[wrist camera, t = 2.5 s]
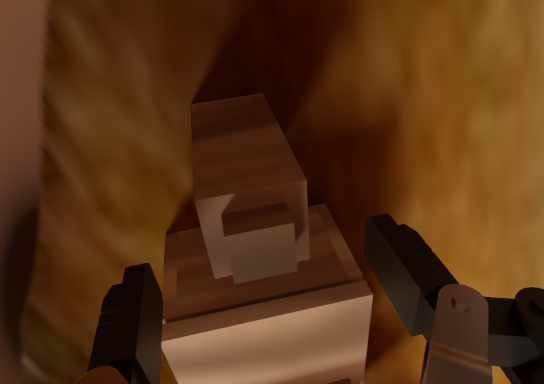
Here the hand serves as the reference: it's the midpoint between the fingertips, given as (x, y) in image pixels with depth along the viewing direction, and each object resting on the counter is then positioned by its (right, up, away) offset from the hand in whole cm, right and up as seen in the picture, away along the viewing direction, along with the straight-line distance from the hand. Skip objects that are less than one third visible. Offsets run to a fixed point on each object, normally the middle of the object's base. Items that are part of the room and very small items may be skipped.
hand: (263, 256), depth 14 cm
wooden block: (-2, +6, +8) cm, 10 cm away
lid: (+1, -11, +11) cm, 15 cm away
